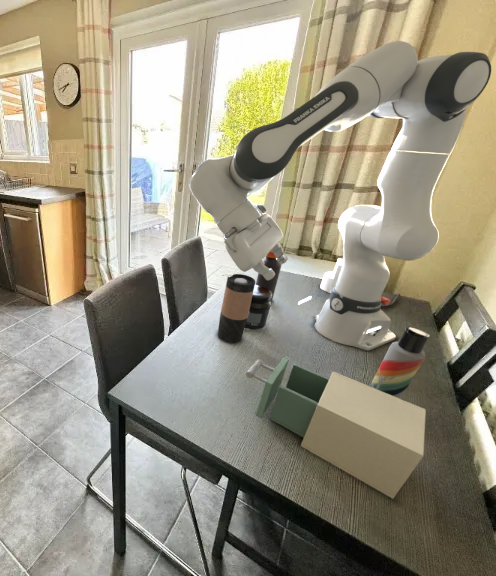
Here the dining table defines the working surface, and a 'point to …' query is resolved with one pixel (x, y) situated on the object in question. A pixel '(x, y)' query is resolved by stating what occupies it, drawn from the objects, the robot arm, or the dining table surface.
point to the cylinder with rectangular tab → (331, 277)
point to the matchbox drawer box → (367, 433)
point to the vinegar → (275, 266)
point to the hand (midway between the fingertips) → (278, 269)
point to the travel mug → (235, 308)
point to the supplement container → (259, 308)
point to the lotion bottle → (401, 363)
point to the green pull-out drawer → (290, 394)
